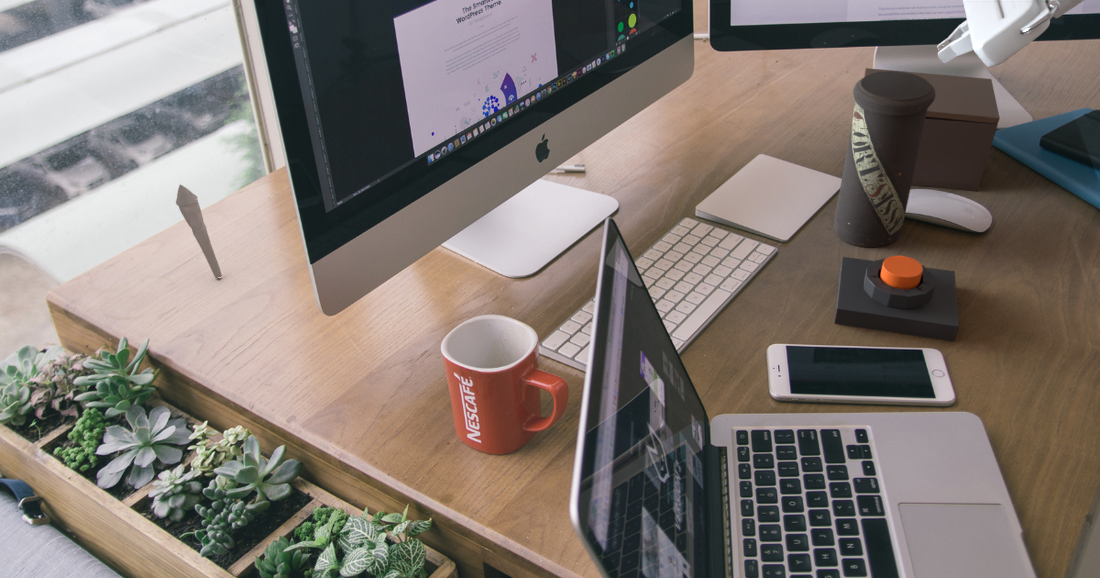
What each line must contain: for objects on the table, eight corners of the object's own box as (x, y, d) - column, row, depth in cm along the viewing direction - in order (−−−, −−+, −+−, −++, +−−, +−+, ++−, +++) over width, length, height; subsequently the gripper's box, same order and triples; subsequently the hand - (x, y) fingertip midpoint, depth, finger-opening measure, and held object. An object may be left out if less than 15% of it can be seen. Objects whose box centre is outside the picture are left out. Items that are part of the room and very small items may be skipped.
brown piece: (861, 110, 103) (862, 104, 102) (864, 73, 112) (865, 67, 111) (997, 124, 98) (1000, 118, 97) (989, 84, 107) (991, 78, 107)
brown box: (854, 179, 109) (866, 114, 103) (858, 139, 118) (869, 77, 112) (977, 191, 104) (998, 124, 98) (971, 148, 113) (989, 84, 107)
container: (820, 238, 98) (844, 88, 86) (843, 205, 104) (869, 60, 92) (890, 257, 94) (926, 102, 82) (911, 221, 99) (947, 72, 87)
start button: (879, 287, 84) (882, 274, 83) (880, 266, 87) (883, 253, 86) (919, 292, 83) (923, 279, 82) (919, 271, 86) (922, 258, 84)
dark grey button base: (834, 324, 85) (839, 295, 83) (839, 271, 92) (844, 243, 90) (954, 342, 81) (963, 313, 79) (950, 286, 89) (958, 257, 86)
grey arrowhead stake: (210, 286, 100) (170, 192, 91) (207, 276, 102) (168, 182, 93) (230, 280, 101) (192, 186, 92) (227, 269, 103) (189, 177, 94)
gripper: (1079, 28, 85) (959, 106, 94) (1051, -26, 100) (950, 45, 109) (1045, -14, 84) (927, 68, 93) (1022, -63, 99) (923, 12, 108)
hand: (940, 55), depth 101 cm, fingers closed
